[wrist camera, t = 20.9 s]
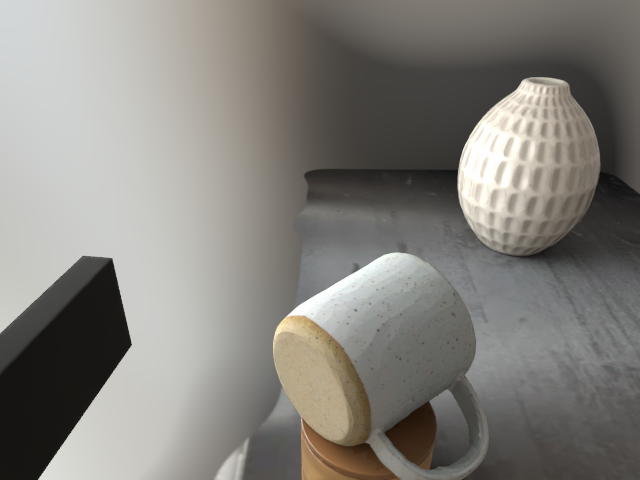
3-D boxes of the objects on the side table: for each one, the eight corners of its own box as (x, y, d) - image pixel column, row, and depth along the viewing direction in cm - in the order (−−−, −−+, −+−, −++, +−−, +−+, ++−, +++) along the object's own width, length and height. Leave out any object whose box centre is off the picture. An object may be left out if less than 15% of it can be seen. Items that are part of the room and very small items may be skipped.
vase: (603, 255, 52) (658, 89, 44) (510, 287, 47) (553, 104, 39) (509, 207, 62) (540, 63, 54) (424, 228, 57) (444, 73, 49)
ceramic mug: (264, 397, 28) (258, 282, 24) (367, 333, 33) (376, 229, 29) (414, 544, 21) (439, 418, 18) (516, 438, 26) (554, 320, 22)
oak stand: (448, 519, 27) (461, 458, 25) (318, 551, 26) (319, 489, 23) (398, 416, 33) (405, 359, 31) (290, 438, 32) (289, 378, 30)
